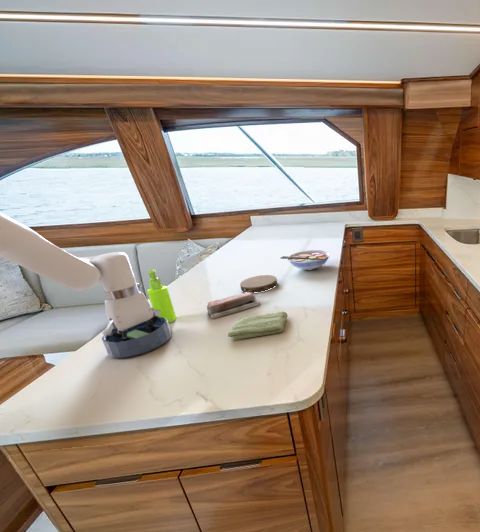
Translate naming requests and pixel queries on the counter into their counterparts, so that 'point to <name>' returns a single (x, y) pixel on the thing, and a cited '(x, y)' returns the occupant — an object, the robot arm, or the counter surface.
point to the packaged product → (232, 304)
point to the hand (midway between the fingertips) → (140, 341)
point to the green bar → (136, 334)
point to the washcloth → (258, 325)
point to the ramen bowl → (308, 259)
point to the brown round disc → (258, 283)
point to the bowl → (138, 340)
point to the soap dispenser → (160, 297)
